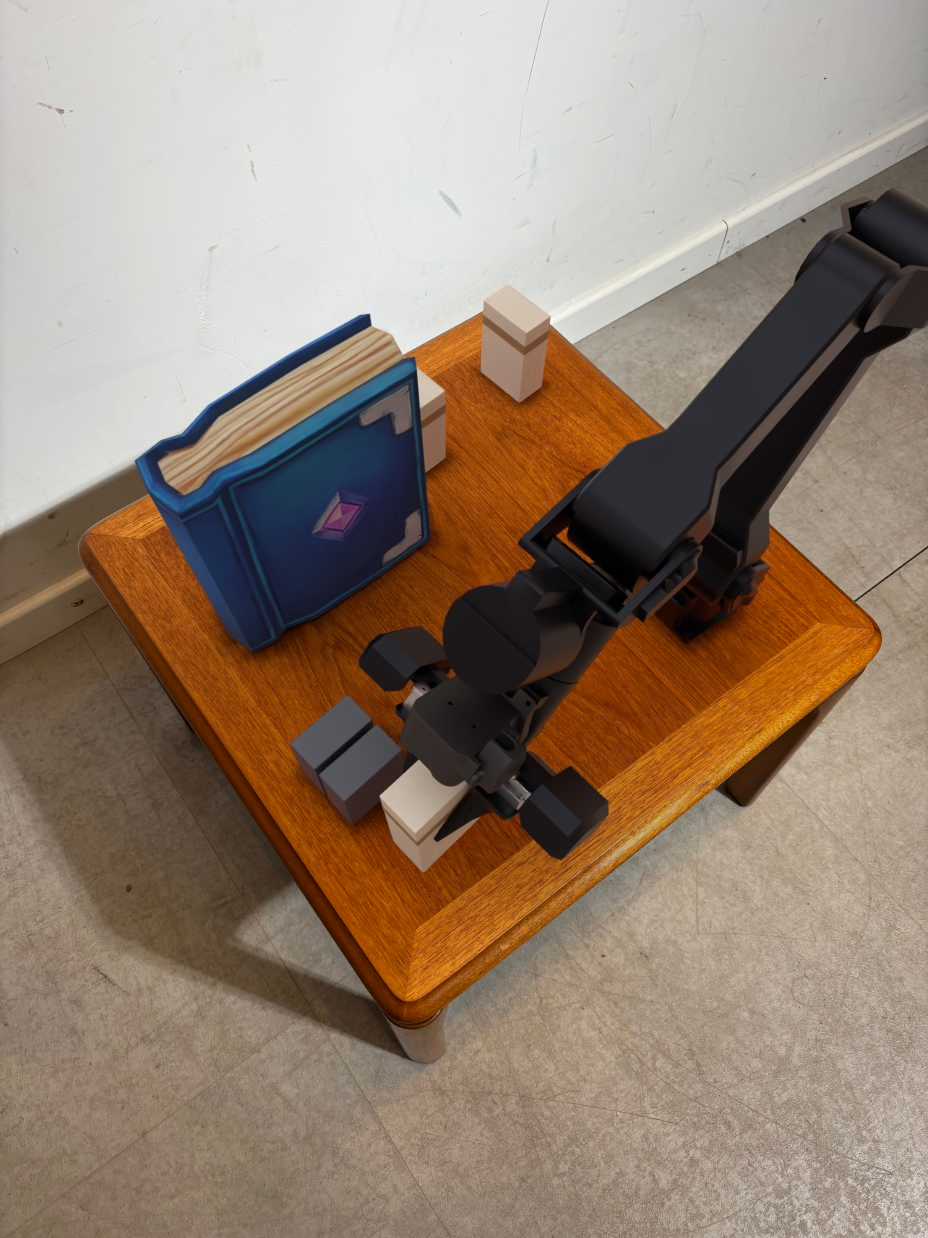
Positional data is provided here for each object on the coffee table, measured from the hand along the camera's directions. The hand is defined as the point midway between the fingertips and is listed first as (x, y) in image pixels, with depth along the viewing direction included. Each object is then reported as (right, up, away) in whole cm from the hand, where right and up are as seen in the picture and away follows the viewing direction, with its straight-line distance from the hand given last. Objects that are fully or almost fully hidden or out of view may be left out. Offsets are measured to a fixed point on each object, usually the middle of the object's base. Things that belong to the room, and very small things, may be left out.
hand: (419, 819), depth 63 cm
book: (-10, +18, +23) cm, 30 cm away
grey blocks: (-6, +1, +14) cm, 15 cm away
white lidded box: (+1, -2, +6) cm, 7 cm away
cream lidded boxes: (+3, +36, +32) cm, 48 cm away
